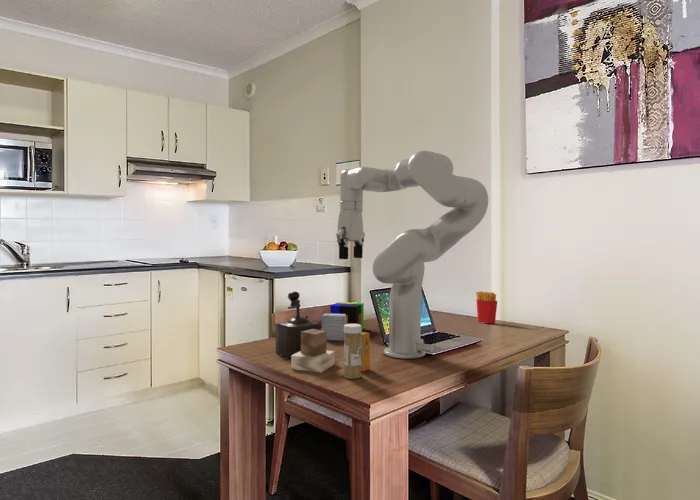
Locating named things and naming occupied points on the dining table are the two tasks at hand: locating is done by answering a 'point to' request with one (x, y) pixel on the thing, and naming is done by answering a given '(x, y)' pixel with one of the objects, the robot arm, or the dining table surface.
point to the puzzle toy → (350, 312)
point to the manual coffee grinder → (292, 329)
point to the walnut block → (313, 342)
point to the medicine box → (334, 326)
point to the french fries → (486, 307)
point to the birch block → (312, 361)
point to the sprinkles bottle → (352, 351)
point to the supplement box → (365, 351)
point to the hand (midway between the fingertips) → (350, 258)
